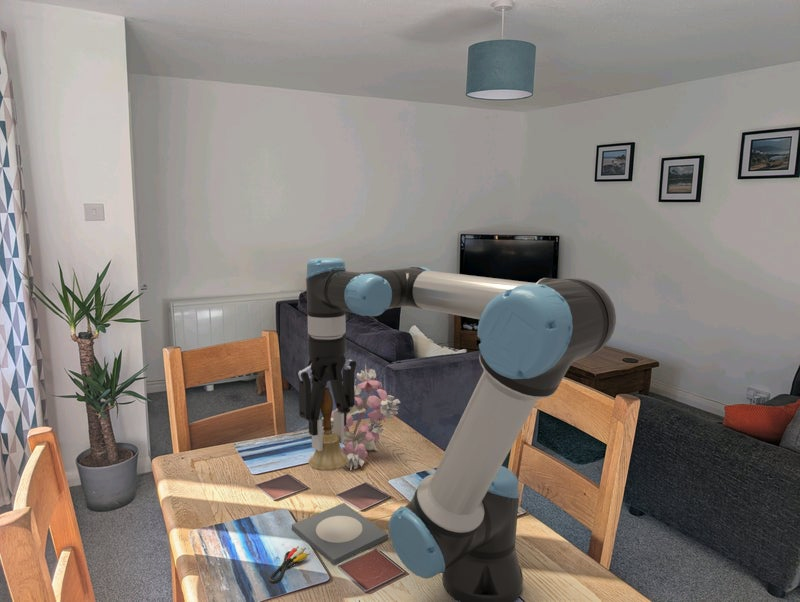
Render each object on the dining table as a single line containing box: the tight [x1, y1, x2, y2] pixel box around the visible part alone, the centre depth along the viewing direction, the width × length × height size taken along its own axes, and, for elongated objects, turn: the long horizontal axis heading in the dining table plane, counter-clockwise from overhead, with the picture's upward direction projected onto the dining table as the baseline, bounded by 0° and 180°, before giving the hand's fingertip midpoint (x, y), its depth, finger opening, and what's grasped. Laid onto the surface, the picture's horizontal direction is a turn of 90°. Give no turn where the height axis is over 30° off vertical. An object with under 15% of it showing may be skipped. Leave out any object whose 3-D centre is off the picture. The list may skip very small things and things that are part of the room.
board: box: [291, 502, 389, 566], centre depth 123 cm, size 16×14×1 cm
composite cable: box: [269, 545, 311, 584], centre depth 111 cm, size 10×5×2 cm, turn 146°
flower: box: [321, 363, 402, 471], centre depth 158 cm, size 20×22×25 cm
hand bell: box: [307, 387, 348, 472], centre depth 117 cm, size 8×8×16 cm
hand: (328, 444), depth 117 cm, fingers closed on hand bell, 5 cm apart
